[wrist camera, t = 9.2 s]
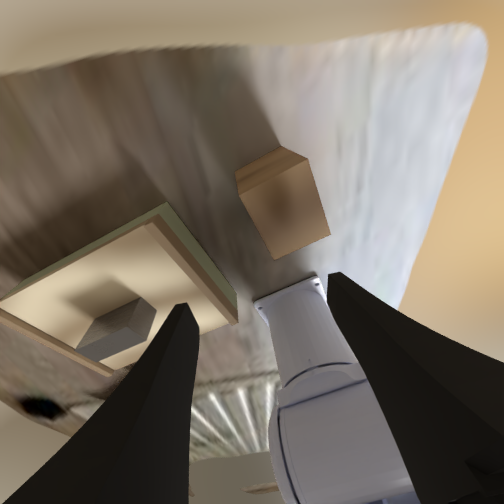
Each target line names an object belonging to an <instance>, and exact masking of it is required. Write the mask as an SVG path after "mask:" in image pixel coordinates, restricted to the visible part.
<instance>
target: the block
mask: <svg viewBox="0 0 504 504" xmlns="http://www.w3.org/2000/svg"><path fill="white" fill-rule="evenodd" d="M235 177H236V182H237V188H238V194H239V197H240V199H241V200H242V202H243V204H244V206H245V208H246V210H247V211H248V213H249V215H250V217H251V219H252V221H253V223H254V224H255V226H256V228H257V230H258V232H259V234H260V235H261V237H262V239H263V241H264V243H265V245H266V247H267V248H268V250H269V252H270V254H271V256H272V258H273V259H274V260H276V259H278V258H281V257H283V256H285V255H287V254H289V253H292V252H294V251H296V250H298V249H300V248H302V247H305V246H307V245H309V244H311V243H313V242H316V241H318V240H320V239H322V238H324V237H326V236H329V235H331V233H330V230H329V226H328V223H327V220H326V217H325V213H324V210H323V207H322V204H321V200H320V197H319V194H318V190H317V187H316V184H315V181H314V177H313V174H312V171H311V168H310V164H309V161H308V159H307V158H305V157H303V156H301V155H299V154H297V153H295V152H293V151H291V150H288V149H286V148H284V147H282V146H280V147H279V148H277V149H275V150H273V151H271V152H269V153H268V154H266V155H264V156H262V157H260V158H259V159H257V160H255V161H253V162H251V163H250V164H248V165H246V166H244V167H242V168H241V169H239V170H237V171H235Z"/></svg>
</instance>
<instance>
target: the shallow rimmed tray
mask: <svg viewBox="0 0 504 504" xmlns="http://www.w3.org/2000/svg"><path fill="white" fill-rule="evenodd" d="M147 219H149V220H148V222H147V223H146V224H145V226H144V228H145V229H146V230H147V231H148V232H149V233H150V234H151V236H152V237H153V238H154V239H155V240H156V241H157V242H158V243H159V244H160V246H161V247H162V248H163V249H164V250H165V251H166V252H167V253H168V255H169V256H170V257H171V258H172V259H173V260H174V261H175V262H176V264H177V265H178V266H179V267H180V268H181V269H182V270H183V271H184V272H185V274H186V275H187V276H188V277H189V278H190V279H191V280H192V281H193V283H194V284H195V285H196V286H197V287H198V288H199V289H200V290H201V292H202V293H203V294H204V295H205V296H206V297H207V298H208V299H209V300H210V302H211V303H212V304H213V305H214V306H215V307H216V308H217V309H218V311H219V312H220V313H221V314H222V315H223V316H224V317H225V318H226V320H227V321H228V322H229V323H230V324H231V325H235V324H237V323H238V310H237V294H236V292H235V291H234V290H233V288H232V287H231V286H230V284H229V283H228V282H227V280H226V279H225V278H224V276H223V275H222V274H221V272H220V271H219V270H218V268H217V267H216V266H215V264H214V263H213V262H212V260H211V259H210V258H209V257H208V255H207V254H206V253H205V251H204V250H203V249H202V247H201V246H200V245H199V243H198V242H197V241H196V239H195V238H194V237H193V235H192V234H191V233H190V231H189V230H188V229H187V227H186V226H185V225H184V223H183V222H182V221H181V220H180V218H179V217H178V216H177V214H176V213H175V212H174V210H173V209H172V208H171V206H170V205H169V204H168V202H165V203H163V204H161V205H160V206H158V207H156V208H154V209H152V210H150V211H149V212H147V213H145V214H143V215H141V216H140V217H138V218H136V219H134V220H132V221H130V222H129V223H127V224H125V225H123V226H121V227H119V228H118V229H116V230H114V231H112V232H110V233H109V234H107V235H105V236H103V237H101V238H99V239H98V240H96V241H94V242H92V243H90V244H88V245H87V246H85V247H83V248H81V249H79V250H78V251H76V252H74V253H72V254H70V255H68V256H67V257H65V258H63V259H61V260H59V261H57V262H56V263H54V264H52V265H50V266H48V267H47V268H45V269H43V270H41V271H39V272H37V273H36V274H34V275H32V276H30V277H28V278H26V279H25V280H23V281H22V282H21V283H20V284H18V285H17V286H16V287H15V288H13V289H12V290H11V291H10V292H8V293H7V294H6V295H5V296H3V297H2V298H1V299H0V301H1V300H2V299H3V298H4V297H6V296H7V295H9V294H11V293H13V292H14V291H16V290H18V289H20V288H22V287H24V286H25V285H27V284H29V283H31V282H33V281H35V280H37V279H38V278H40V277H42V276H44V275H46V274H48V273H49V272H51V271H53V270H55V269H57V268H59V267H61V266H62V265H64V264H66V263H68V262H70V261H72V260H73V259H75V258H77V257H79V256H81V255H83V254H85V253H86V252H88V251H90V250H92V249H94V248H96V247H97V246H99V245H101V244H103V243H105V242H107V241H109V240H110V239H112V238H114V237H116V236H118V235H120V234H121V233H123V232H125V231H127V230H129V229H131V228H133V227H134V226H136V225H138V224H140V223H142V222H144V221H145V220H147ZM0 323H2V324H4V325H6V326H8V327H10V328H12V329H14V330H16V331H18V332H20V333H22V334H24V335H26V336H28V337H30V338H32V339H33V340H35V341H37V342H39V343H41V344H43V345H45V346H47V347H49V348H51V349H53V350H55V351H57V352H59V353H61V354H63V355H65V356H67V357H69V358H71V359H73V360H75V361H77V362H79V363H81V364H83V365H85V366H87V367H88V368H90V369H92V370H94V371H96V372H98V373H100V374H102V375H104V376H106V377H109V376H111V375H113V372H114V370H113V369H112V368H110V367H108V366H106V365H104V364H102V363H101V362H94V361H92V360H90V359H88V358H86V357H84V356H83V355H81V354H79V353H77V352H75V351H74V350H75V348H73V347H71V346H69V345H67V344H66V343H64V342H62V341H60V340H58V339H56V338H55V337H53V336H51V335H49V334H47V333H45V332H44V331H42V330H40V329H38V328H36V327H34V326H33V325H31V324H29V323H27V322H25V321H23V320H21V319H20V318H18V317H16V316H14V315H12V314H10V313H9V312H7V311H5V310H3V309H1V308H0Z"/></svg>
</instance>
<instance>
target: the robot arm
mask: <svg viewBox="0 0 504 504" xmlns="http://www.w3.org/2000/svg"><path fill="white" fill-rule="evenodd" d="M315 283H317V284H315ZM254 307H255V308H256V310H257V311H258V313H259V314H260V315H261V317H262V318H263V319H264V321H265V322H266V324H267V325H268V326H269V328H270V333H271V337H272V342H273V347H274V351H275V356H276V361H277V366H278V370H279V375H280V380H281V385H282V389H281V390H279V391H277V396H278V401H279V405H276V406H275V407H274V408H273V410H272V413H271V417H270V420H269V427H268V439H269V449H270V455H271V461H272V466H273V470H274V474H275V478H276V481H277V485H278V488H279V490H280V493H281V495H282V497H283V499H284V501H285V503H286V504H504V363H503V362H501V361H499V360H496V359H494V358H491V357H489V356H487V355H484V354H482V353H480V352H477V351H475V350H473V349H470V348H469V347H466V346H464V345H462V344H460V343H458V342H456V341H453V340H451V339H449V338H447V337H445V336H443V335H441V334H439V333H437V332H435V331H433V330H431V329H429V328H428V327H426V326H424V325H422V324H420V323H418V322H416V321H414V320H413V319H411V318H409V317H407V316H406V315H404V314H402V313H400V312H399V311H397V310H396V309H394V308H392V307H391V306H389V305H388V304H386V303H385V302H383V301H381V300H380V299H378V298H377V297H375V296H374V295H372V294H371V293H369V292H368V291H367V290H365V289H364V288H362V287H361V286H359V285H358V284H357V283H355V282H354V281H352V280H351V279H350V278H348V277H347V276H345V275H344V274H343V273H341V272H337V273H332V274H328V287H327V296H326V294H325V291H324V289H323V286H322V284H321V281H320V279H319V277H318V276H313V277H311V278H309V279H306V280H304V281H302V282H299V283H297V284H295V285H292V286H290V287H288V288H285V289H283V290H280V291H278V292H276V293H273V294H271V295H269V296H266V297H264V298H262V299H259V300H257V301H255V302H254ZM199 336H200V327H199V325H198V323H197V321H196V319H195V317H194V315H193V313H192V311H191V309H190V307H189V305H188V303H187V302H185V303H180V304H175V306H174V307H173V309H172V310H171V312H170V313H169V315H168V316H167V318H166V320H165V321H164V323H163V324H162V326H161V327H160V329H159V331H158V332H157V334H156V335H155V337H154V338H153V340H152V341H151V343H150V344H149V346H148V347H147V348H146V350H145V351H144V353H143V354H142V355H141V357H140V358H139V360H138V361H137V362H136V364H135V365H134V366H133V368H132V369H131V370H130V372H129V373H128V374H127V376H126V377H125V378H124V379H123V381H122V382H121V383H120V384H119V385H118V387H117V388H116V389H115V390H114V392H113V393H112V394H111V395H110V396H109V397H108V399H107V400H106V401H105V402H104V403H103V404H102V405H101V406H100V407H99V408H98V410H97V411H96V412H95V413H94V414H93V415H92V416H91V417H90V418H89V420H88V421H87V422H86V423H85V424H84V425H83V426H82V427H81V428H80V429H79V430H78V431H77V432H76V433H75V434H74V435H73V436H72V437H71V438H70V439H69V441H68V442H67V443H66V444H65V445H64V446H63V447H62V448H61V449H60V450H59V451H58V452H57V453H56V454H55V455H54V456H52V457H51V458H50V460H48V461H47V462H46V463H45V465H43V466H42V467H41V468H40V469H39V470H38V471H37V472H36V473H35V474H34V475H33V476H32V477H30V478H29V479H28V480H27V481H26V482H25V483H24V484H23V485H22V486H21V487H20V488H19V489H18V490H17V491H16V492H14V493H13V494H12V495H11V496H10V497H9V498H8V499H7V500H6V501H5V502H4V503H3V504H188V502H189V501H188V487H189V443H190V421H191V405H192V395H193V388H194V381H195V374H196V367H197V360H198V353H199ZM353 353H354V354H353ZM357 360H358V361H357Z"/></svg>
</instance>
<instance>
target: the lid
mask: <svg viewBox="0 0 504 504" xmlns="http://www.w3.org/2000/svg"><path fill="white" fill-rule="evenodd" d="M148 220H149V219H147V220H145V221H144V222H142V223H140V224H138V225H136V226H134V227H133V228H131V229H129V230H127V231H125V232H123V233H121V234H120V235H118V236H116V237H114V238H112V239H110V240H109V241H107V242H105V243H103V244H101V245H99V246H97V247H96V248H94V249H92V250H90V251H88V252H86V253H85V254H83V255H81V256H79V257H77V258H75V259H73V260H72V261H70V262H68V263H66V264H64V265H62V266H61V267H59V268H57V269H55V270H53V271H51V272H49V273H48V274H46V275H44V276H42V277H40V278H38V279H37V280H35V281H33V282H31V283H29V284H27V285H25V286H24V287H22V288H20V289H18V290H16V291H14V292H13V293H11V294H9V295H7V296H6V297H4V298H3V299H2V300H1V301H0V308H1V309H3V310H5V311H7V312H9V313H10V314H12V315H14V316H16V317H18V318H20V319H21V320H23V321H25V322H27V323H29V324H31V325H33V326H34V327H36V328H38V329H40V330H42V331H44V332H45V333H47V334H49V335H51V336H53V337H55V338H56V339H58V340H60V341H62V342H64V343H66V344H67V345H69V346H71V347H73V348H75V350H74V351H75V352H77V353H79V354H81V355H83V356H84V357H86V358H88V359H90V360H92V361H94V362H101V363H102V364H104V365H106V366H108V367H110V368H112V369H113V370H117V369H119V368H122V367H124V366H127V365H129V364H131V363H134V362H136V361H138V360H139V358H140V357H141V355H142V354H143V353H144V351H145V350H146V348H147V347H148V346H149V344H150V343H151V341H152V340H153V338H154V337H155V335H156V334H157V332H158V331H159V329H160V327H161V326H162V324H163V323H164V321H165V320H166V318H167V316H168V315H169V313H170V312H171V310H172V309H173V307H174V306H175V304H180V303H185V302H187V303H188V305H189V307H190V309H191V311H192V313H193V315H194V317H195V319H196V321H197V323H198V325H199V327H200V335H201V334H204V333H206V332H208V331H211V330H213V329H216V328H218V327H220V326H223V325H225V324H228V323H229V322H228V321H227V320H226V318H225V317H224V316H223V315H222V314H221V313H220V312H219V311H218V309H217V308H216V307H215V306H214V305H213V304H212V303H211V302H210V300H209V299H208V298H207V297H206V296H205V295H204V294H203V293H202V292H201V290H200V289H199V288H198V287H197V286H196V285H195V284H194V283H193V281H192V280H191V279H190V278H189V277H188V276H187V275H186V274H185V272H184V271H183V270H182V269H181V268H180V267H179V266H178V265H177V264H176V262H175V261H174V260H173V259H172V258H171V257H170V256H169V255H168V253H167V252H166V251H165V250H164V249H163V248H162V247H161V246H160V244H159V243H158V242H157V241H156V240H155V239H154V238H153V237H152V236H151V234H150V233H149V232H148V231H147V230H146V229H145V228H144V226H145V224H146V223H147V222H148Z"/></svg>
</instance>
